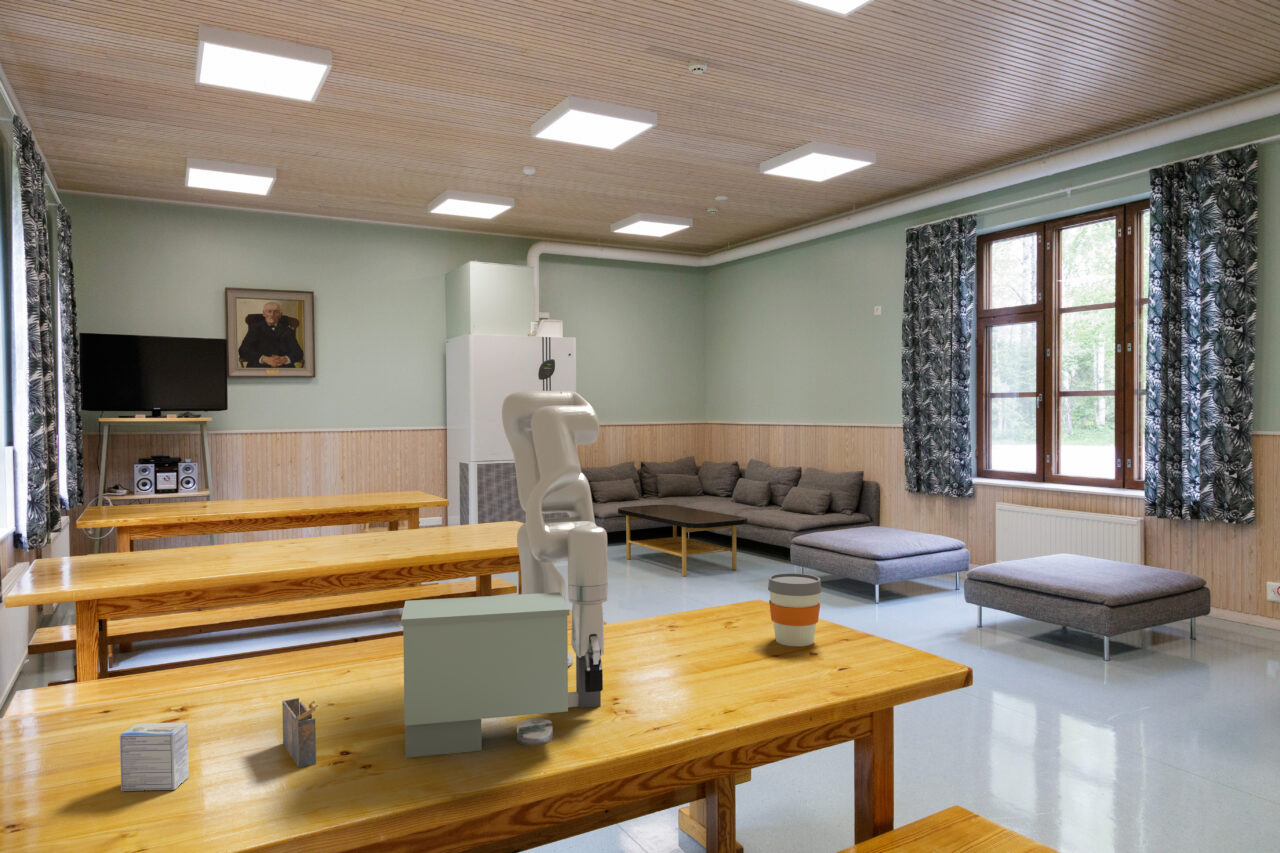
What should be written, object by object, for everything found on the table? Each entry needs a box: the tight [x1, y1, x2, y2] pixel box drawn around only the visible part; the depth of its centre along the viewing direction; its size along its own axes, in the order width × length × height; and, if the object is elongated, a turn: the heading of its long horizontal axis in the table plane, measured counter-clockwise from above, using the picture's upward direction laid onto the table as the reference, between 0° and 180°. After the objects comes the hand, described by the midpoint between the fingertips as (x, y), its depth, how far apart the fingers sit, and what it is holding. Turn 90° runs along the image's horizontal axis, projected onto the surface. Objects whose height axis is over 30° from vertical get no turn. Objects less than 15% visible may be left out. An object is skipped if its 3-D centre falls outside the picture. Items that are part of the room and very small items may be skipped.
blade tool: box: [568, 654, 602, 709], centre depth 155 cm, size 4×18×9 cm, turn 103°
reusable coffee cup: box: [767, 572, 822, 647], centre depth 197 cm, size 13×13×15 cm
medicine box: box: [119, 722, 190, 792], centre depth 123 cm, size 8×4×9 cm, turn 92°
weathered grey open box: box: [281, 697, 319, 769], centre depth 135 cm, size 11×3×10 cm, turn 35°
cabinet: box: [400, 592, 570, 759], centre depth 139 cm, size 13×27×23 cm, turn 103°
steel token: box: [516, 717, 554, 747], centre depth 140 cm, size 6×6×2 cm
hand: (589, 683), depth 156 cm, fingers open, 9 cm apart
